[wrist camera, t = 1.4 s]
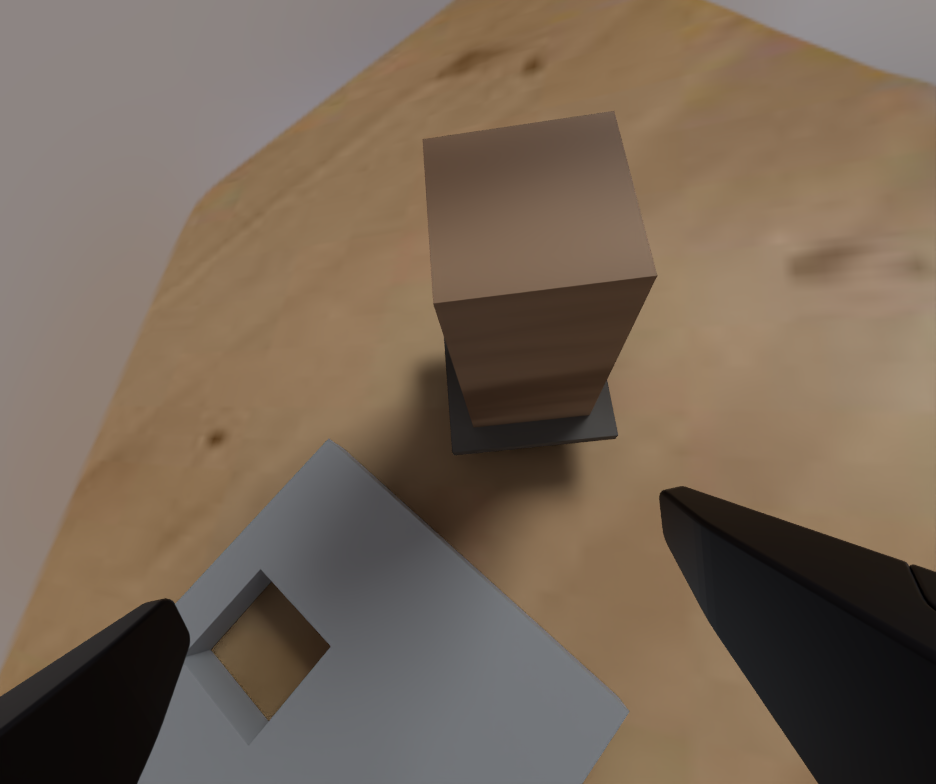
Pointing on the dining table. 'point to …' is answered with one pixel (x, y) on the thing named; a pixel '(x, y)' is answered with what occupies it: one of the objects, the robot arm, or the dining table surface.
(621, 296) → the walnut peg
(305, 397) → the dining table surface
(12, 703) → the robot arm
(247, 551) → the slate board
